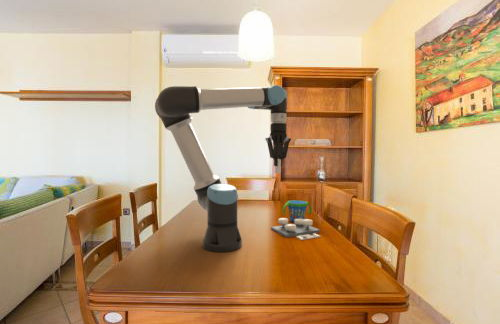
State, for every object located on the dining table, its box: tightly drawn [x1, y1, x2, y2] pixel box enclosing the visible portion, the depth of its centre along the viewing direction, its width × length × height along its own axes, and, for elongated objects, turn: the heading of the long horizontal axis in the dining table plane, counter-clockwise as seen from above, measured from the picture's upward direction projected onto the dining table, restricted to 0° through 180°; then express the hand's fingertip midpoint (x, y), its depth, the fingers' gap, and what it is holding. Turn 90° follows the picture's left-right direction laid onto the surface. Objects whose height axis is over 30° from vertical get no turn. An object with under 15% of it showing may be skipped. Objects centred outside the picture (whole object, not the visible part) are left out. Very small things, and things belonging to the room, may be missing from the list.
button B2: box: [293, 219, 303, 226], centre depth 134 cm, size 5×5×3 cm
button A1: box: [285, 223, 296, 232], centre depth 125 cm, size 5×5×3 cm
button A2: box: [277, 217, 289, 227], centre depth 130 cm, size 5×5×3 cm
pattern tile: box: [295, 233, 322, 241], centre depth 120 cm, size 10×4×1 cm, turn 115°
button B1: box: [302, 218, 314, 228], centre depth 128 cm, size 5×5×3 cm
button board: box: [271, 223, 321, 238], centre depth 130 cm, size 18×13×1 cm
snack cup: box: [282, 199, 312, 223], centre depth 147 cm, size 16×10×10 cm
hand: (278, 173), depth 133 cm, fingers closed
